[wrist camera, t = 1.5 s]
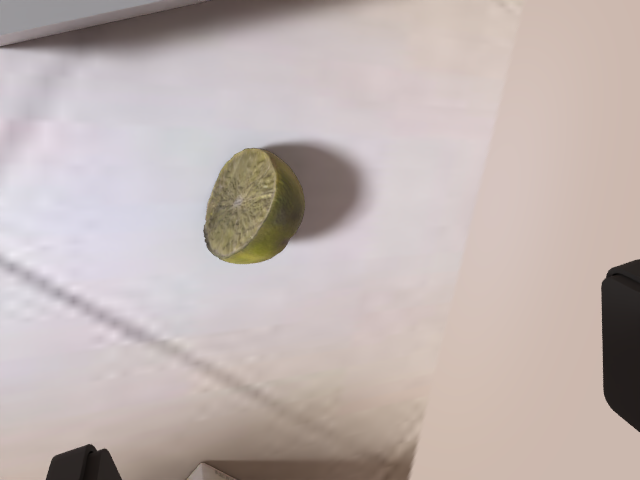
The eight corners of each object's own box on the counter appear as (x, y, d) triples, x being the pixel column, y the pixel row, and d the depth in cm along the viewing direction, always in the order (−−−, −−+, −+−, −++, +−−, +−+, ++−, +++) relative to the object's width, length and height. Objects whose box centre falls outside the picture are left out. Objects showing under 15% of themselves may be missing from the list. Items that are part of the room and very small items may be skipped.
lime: (205, 249, 26) (213, 291, 22) (188, 148, 25) (193, 171, 20) (296, 234, 27) (322, 271, 23) (286, 136, 26) (312, 155, 21)
